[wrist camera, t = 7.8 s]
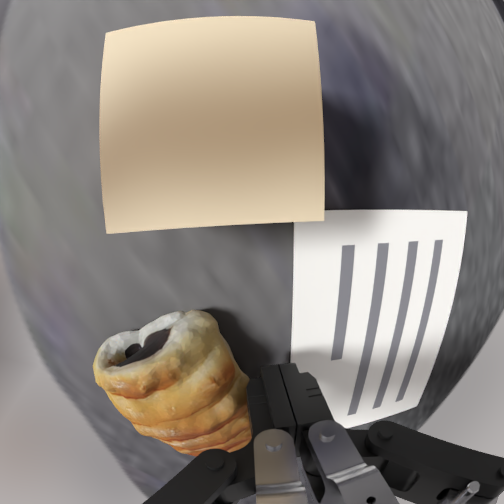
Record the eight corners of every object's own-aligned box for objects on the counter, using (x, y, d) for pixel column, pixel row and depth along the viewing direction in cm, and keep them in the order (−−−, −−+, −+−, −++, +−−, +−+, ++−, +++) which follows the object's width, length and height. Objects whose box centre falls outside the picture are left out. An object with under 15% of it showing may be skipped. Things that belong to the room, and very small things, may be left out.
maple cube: (149, 83, 9) (105, 33, 5) (276, 77, 10) (314, 21, 5) (153, 205, 11) (106, 233, 6) (280, 198, 11) (324, 220, 6)
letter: (293, 210, 11) (294, 211, 11) (465, 211, 12) (467, 211, 12) (285, 439, 15) (285, 440, 15) (416, 405, 16) (417, 406, 16)
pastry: (282, 416, 15) (294, 467, 11) (184, 445, 15) (181, 492, 12) (206, 288, 12) (200, 339, 8) (90, 338, 12) (60, 386, 9)
